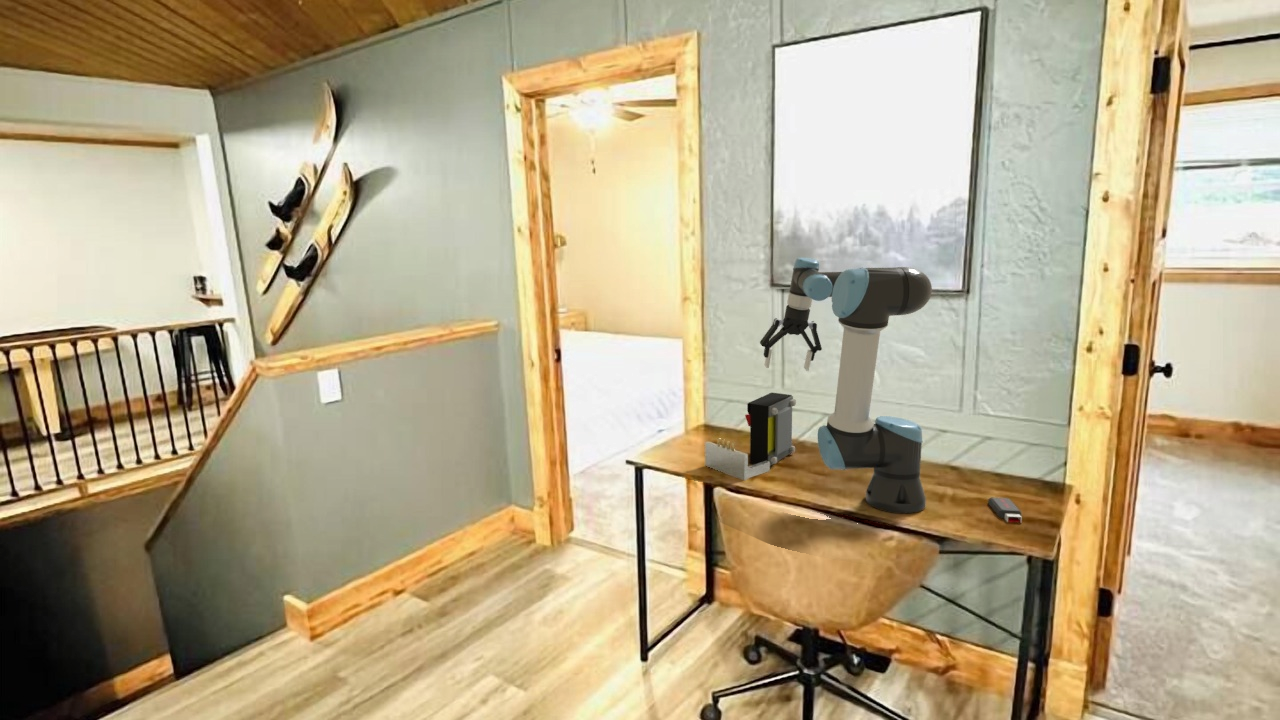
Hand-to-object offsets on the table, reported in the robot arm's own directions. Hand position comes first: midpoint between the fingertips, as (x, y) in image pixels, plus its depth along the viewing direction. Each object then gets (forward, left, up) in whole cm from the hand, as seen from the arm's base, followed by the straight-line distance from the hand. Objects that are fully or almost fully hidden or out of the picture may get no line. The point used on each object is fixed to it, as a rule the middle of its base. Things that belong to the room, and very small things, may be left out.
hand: (786, 367), depth 216 cm
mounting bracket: (-1, +23, -29) cm, 37 cm away
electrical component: (-1, +8, -29) cm, 30 cm away
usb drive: (-70, -3, -30) cm, 76 cm away
